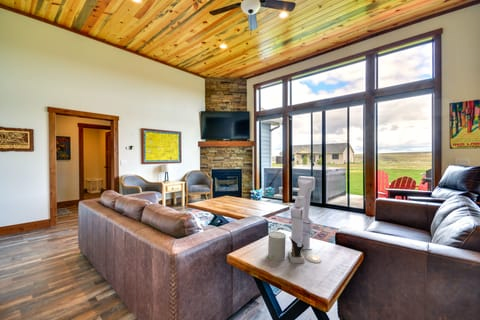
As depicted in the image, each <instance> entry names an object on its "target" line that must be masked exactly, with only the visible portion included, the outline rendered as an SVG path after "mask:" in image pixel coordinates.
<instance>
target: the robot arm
mask: <svg viewBox="0 0 480 320" xmlns="http://www.w3.org/2000/svg"><path fill="white" fill-rule="evenodd" d="M297 185H298V188H299V190H298V196H296V198H295V201H294V204H293V207H292V208H291V209H290V221H291V236H288V238H289V239H290V241H291V246H292V245H293V246H294V251H295V256H296V257H299V256H300V252H301V253H302V250H309V251H311V250H313V248H312V247H311V246H310V244H311V243H310V242H311V234H313V231H314V222H313V220H312V219H311V218H310V206H311V195H312V192H313V191H315V188H316V177H314V176H303V175H299V176H298V177H297Z"/></svg>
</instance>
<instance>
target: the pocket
mask: <svg viewBox="0 0 480 320" xmlns="http://www.w3.org/2000/svg"><path fill="white" fill-rule="evenodd" d="M287 253H288V255H287V256H288V258H289V262H290V263H296V264H297V263H298V264H304V263H305V256H304V255H303V253H302V252H301V257H292V250H291V251H288V252H287Z"/></svg>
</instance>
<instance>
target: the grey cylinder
mask: <svg viewBox="0 0 480 320" xmlns="http://www.w3.org/2000/svg"><path fill="white" fill-rule="evenodd" d="M286 237H287V236H286V233H284V232H281V231H271V232H269V233H268V247H267V249H268V250H267V251H268V252H267V257H268V258H269V259H270V260H273V261H277V262H278V261H283V260H285V259H286Z"/></svg>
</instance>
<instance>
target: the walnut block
mask: <svg viewBox="0 0 480 320" xmlns="http://www.w3.org/2000/svg"><path fill="white" fill-rule="evenodd" d="M291 252H292V257H296V256H295V251H294V246H293V245H292V244H291ZM301 253H302V251H301V252H300V256H299V257H301Z"/></svg>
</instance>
